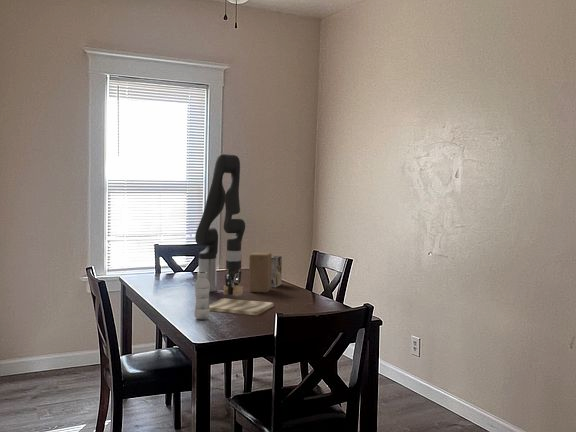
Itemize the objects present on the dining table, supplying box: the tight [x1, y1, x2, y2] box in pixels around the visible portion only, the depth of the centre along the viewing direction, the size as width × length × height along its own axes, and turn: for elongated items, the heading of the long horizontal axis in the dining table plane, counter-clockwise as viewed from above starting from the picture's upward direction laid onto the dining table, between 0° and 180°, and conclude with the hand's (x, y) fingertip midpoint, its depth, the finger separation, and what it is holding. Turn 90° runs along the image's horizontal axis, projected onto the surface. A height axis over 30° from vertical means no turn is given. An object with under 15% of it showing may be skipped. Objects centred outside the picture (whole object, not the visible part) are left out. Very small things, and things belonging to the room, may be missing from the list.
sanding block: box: [222, 284, 244, 298], centre depth 287 cm, size 8×5×4 cm, turn 63°
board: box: [209, 297, 274, 316], centre depth 269 cm, size 26×20×2 cm
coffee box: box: [271, 255, 283, 288], centre depth 323 cm, size 9×6×16 cm
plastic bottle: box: [193, 271, 211, 321], centre depth 247 cm, size 6×7×20 cm
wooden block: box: [248, 251, 273, 294], centre depth 308 cm, size 10×10×20 cm
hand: (233, 293), depth 287 cm, fingers closed on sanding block, 5 cm apart
